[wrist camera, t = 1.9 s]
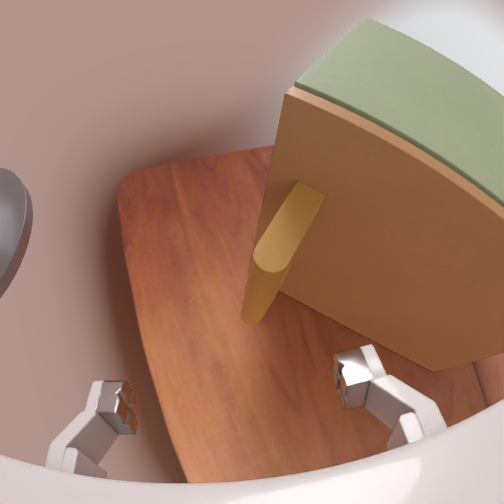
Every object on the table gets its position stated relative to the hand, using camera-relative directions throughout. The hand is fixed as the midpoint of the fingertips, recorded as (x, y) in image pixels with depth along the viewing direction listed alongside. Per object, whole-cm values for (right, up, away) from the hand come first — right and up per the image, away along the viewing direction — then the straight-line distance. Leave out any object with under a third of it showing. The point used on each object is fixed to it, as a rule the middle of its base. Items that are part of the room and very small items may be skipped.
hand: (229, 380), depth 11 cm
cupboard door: (+10, -6, +21) cm, 24 cm away
